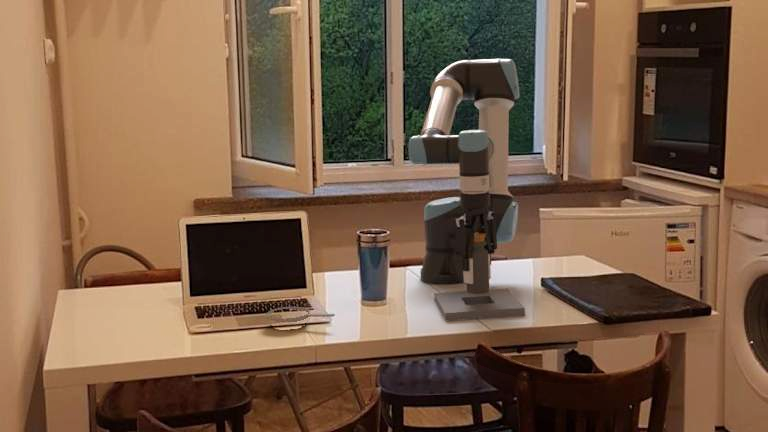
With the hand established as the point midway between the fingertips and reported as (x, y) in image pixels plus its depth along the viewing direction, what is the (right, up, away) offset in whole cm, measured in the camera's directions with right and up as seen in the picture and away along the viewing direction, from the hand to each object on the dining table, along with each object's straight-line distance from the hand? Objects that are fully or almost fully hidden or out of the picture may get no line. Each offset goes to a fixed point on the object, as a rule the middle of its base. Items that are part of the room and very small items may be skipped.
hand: (477, 280), depth 256 cm
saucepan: (-44, -11, -8) cm, 46 cm away
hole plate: (0, -7, +1) cm, 7 cm away
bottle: (0, -3, +1) cm, 3 cm away
